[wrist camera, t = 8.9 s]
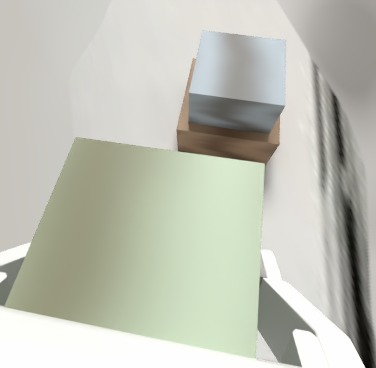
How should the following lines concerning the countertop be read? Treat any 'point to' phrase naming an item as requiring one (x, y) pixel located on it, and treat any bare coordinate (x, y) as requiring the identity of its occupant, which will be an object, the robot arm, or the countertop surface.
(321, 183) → the countertop surface
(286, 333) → the robot arm
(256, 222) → the green brick
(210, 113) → the pedestal
